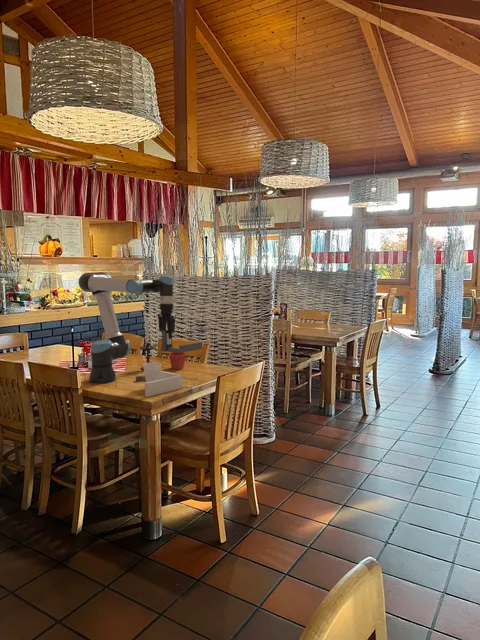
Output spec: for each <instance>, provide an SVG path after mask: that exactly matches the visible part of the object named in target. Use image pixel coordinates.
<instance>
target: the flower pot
mask: <svg viewBox="0 0 480 640" xmlns="http://www.w3.org/2000/svg"><path fill="white" fill-rule="evenodd" d="M168 353H169V354H168V357H169V361H170V366H171V369H172V370H179V369H181V370H182V369H184V368H185V367H184V366H185V362H186V355H187V352H183V353H173V352H168Z"/></svg>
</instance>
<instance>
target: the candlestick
mask: <svg viewBox="0 0 480 640" xmlns="http://www.w3.org/2000/svg"><path fill="white" fill-rule="evenodd" d="M145 318H146V319H145V320H146V322H145V341H146V342H145V345H143V346H139V347H138V348H139V350H141V351H145V352H146V357H145V359H146V360H145V361H146V362H145V363H151V360H150V358H151V356H150V351H152V350H153V351H154V350H156V349H157V346H156V345H150V327H149V326H150V324H149V323H150V322H149V321H148V317H147V315H146V316H145ZM140 369H141V370H142V371H144V368H143V366H141V368H140Z"/></svg>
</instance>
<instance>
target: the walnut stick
mask: <svg viewBox="0 0 480 640" xmlns="http://www.w3.org/2000/svg"><path fill="white" fill-rule="evenodd" d="M135 382H140V383H141V382H146V378H145V374H144V375H135Z"/></svg>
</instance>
